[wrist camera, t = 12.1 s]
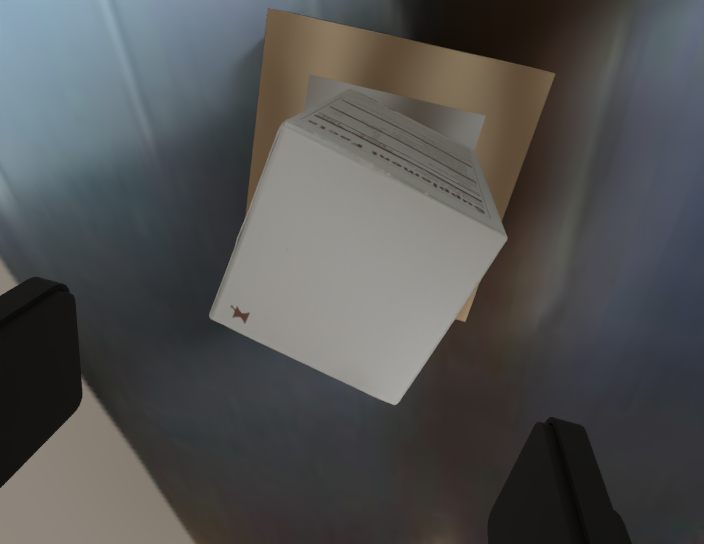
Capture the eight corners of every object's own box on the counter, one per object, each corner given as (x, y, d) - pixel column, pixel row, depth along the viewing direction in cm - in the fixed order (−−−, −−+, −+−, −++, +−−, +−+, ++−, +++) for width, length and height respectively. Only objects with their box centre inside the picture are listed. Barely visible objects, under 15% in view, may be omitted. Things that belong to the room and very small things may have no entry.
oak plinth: (539, 69, 26) (555, 73, 23) (462, 291, 33) (465, 322, 29) (290, 12, 27) (267, 8, 24) (261, 240, 33) (239, 264, 30)
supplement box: (411, 265, 28) (394, 416, 17) (295, 206, 28) (197, 321, 16) (481, 149, 25) (517, 240, 14) (350, 80, 24) (275, 115, 13)
